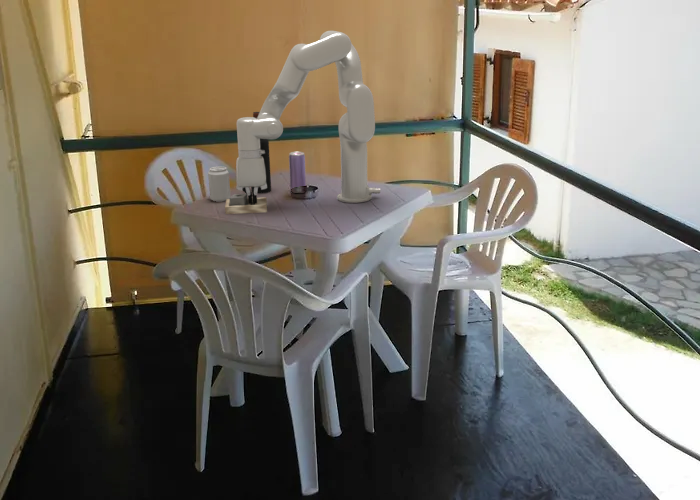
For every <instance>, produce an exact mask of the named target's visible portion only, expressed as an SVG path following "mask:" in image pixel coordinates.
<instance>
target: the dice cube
mask: <svg viewBox="0 0 700 500" xmlns="http://www.w3.org/2000/svg"><path fill="white" fill-rule="evenodd" d="M229 199H230V206H240V205H249V204H248V195H247V194H246V193H237V194H234V193H233V194H232V195H230V198H229Z"/></svg>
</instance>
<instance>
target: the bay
mask: <svg viewBox="0 0 700 500" xmlns="http://www.w3.org/2000/svg"><path fill="white" fill-rule="evenodd" d="M252 199H253V197H252ZM248 204H249V203H248ZM224 205H225V206H224V208H225V209H224V210H225V213H224V214H225V215H233V214H235V215H236V214H237V215H238V214H256V213H258V214H259V213H268V208H267V207H268V201H267V197H266V196H265V197H264V196H263V197H257V203H255V205H251V204H249V205H240V206H230V199H226V201H225V204H224Z"/></svg>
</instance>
